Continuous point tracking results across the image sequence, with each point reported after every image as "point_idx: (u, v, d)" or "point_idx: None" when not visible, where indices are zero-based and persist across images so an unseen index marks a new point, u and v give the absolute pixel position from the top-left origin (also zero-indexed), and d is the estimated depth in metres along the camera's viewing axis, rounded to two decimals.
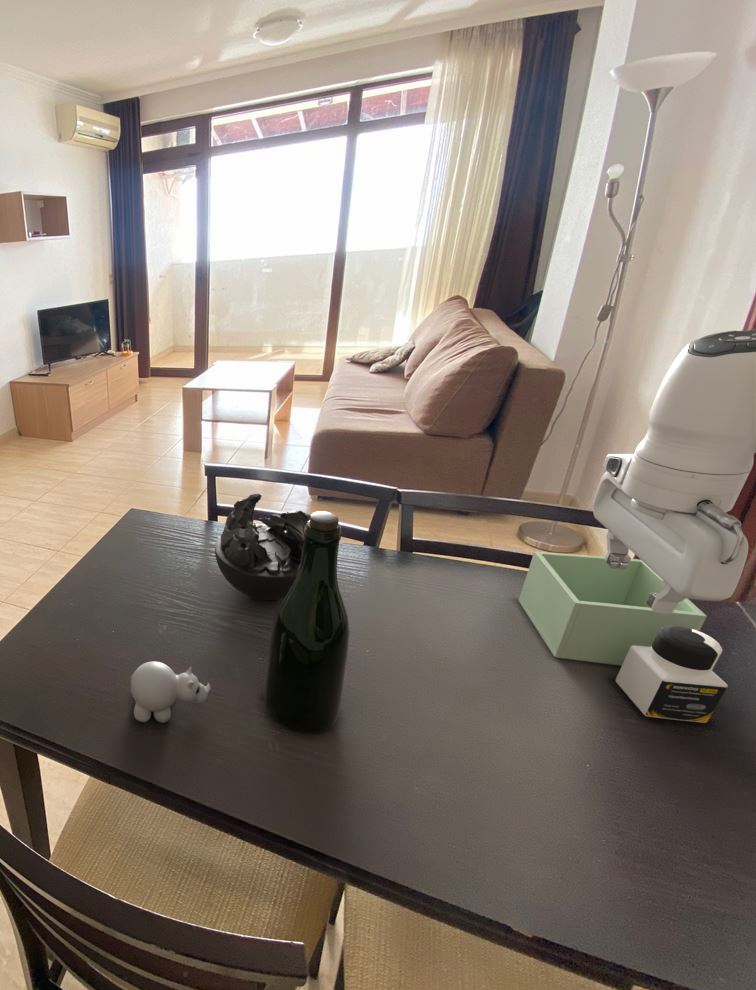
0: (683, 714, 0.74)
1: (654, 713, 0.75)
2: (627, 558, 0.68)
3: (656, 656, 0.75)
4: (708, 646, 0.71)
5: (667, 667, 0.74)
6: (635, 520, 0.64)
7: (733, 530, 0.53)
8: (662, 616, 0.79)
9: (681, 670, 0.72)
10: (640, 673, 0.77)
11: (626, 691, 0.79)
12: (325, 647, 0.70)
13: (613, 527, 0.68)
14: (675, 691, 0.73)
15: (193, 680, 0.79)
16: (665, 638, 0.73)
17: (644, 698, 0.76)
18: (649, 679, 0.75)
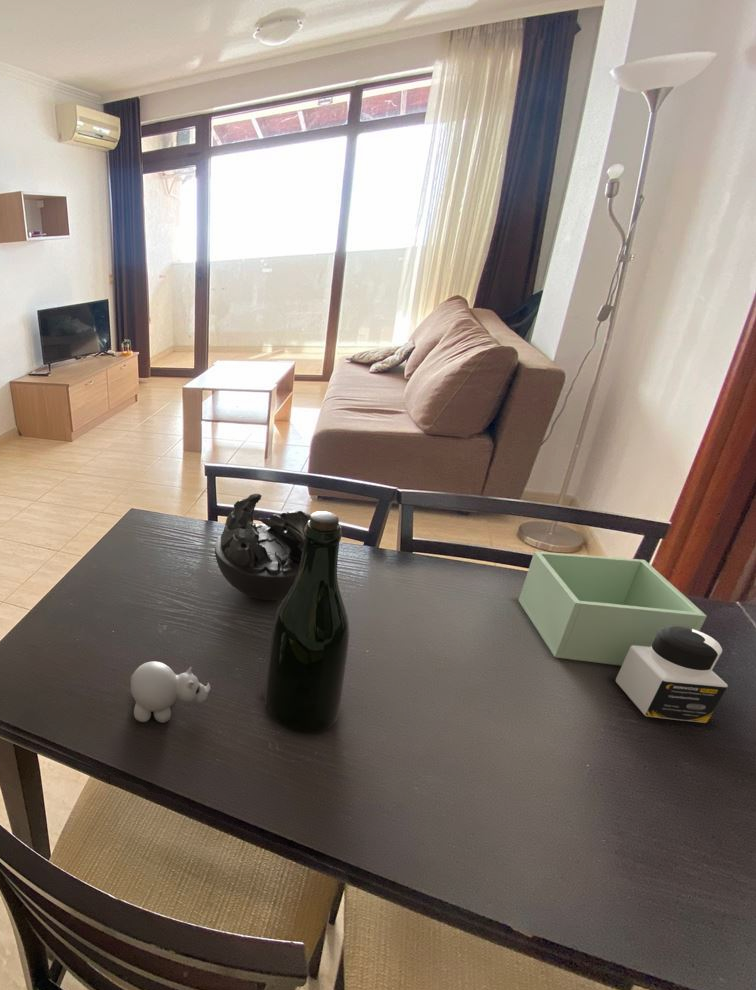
0: (683, 714, 0.74)
1: (654, 713, 0.75)
2: None
3: (656, 656, 0.75)
4: (708, 646, 0.71)
5: (667, 667, 0.74)
6: None
7: None
8: (662, 616, 0.79)
9: (681, 670, 0.72)
10: (640, 673, 0.77)
11: (626, 691, 0.79)
12: (325, 647, 0.70)
13: None
14: (675, 691, 0.73)
15: (193, 680, 0.79)
16: (665, 638, 0.73)
17: (644, 698, 0.76)
18: (649, 679, 0.75)
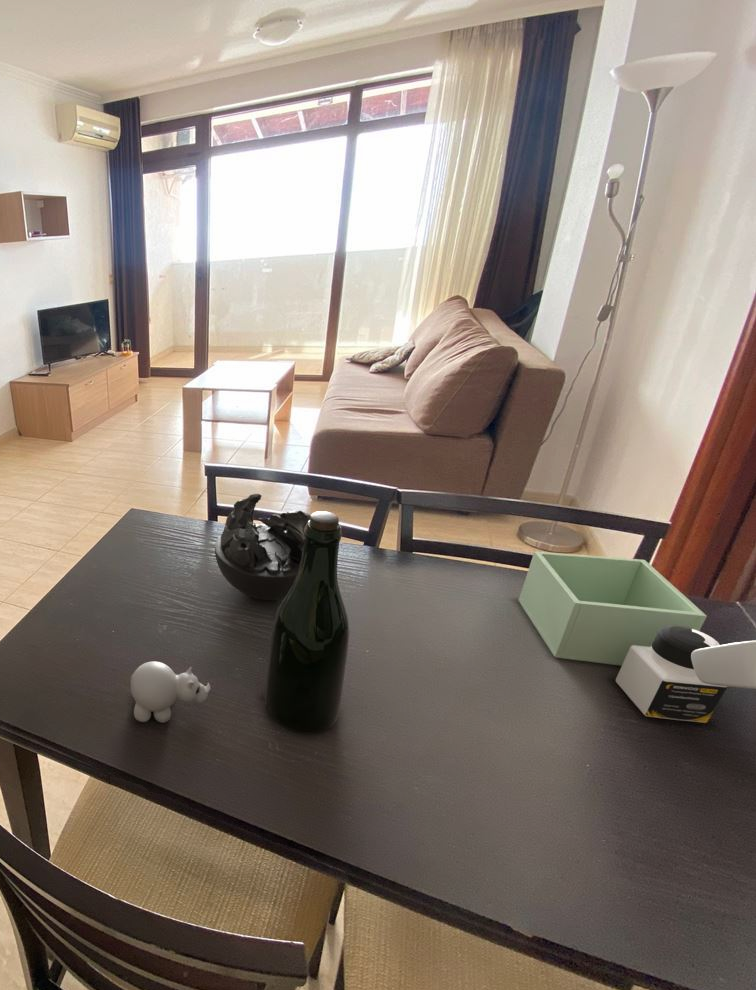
0: (683, 714, 0.74)
1: (654, 713, 0.75)
2: None
3: (656, 656, 0.75)
4: (708, 646, 0.71)
5: (667, 667, 0.74)
6: None
7: None
8: (662, 616, 0.79)
9: (681, 670, 0.72)
10: (640, 673, 0.77)
11: (626, 691, 0.79)
12: (325, 647, 0.70)
13: None
14: (675, 691, 0.73)
15: (193, 680, 0.79)
16: (665, 638, 0.73)
17: (644, 698, 0.76)
18: (649, 679, 0.75)
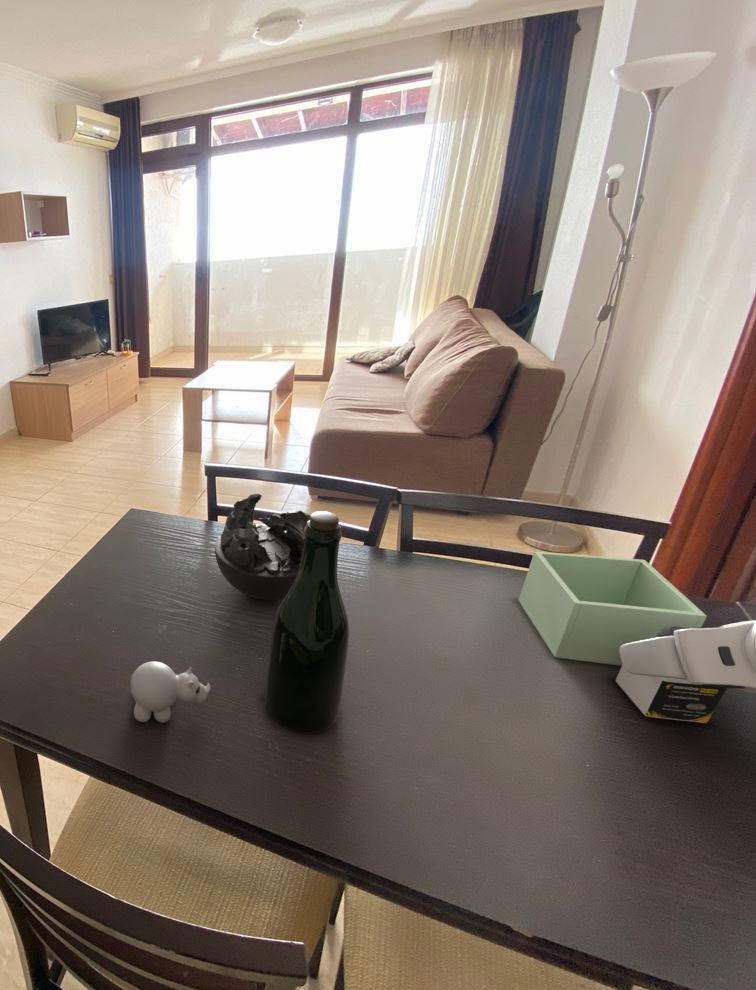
0: (683, 714, 0.74)
1: (654, 713, 0.75)
2: None
3: None
4: None
5: None
6: None
7: None
8: (662, 616, 0.79)
9: None
10: None
11: (626, 691, 0.79)
12: (325, 647, 0.70)
13: None
14: (675, 691, 0.73)
15: (193, 680, 0.79)
16: None
17: (645, 698, 0.76)
18: (649, 679, 0.75)
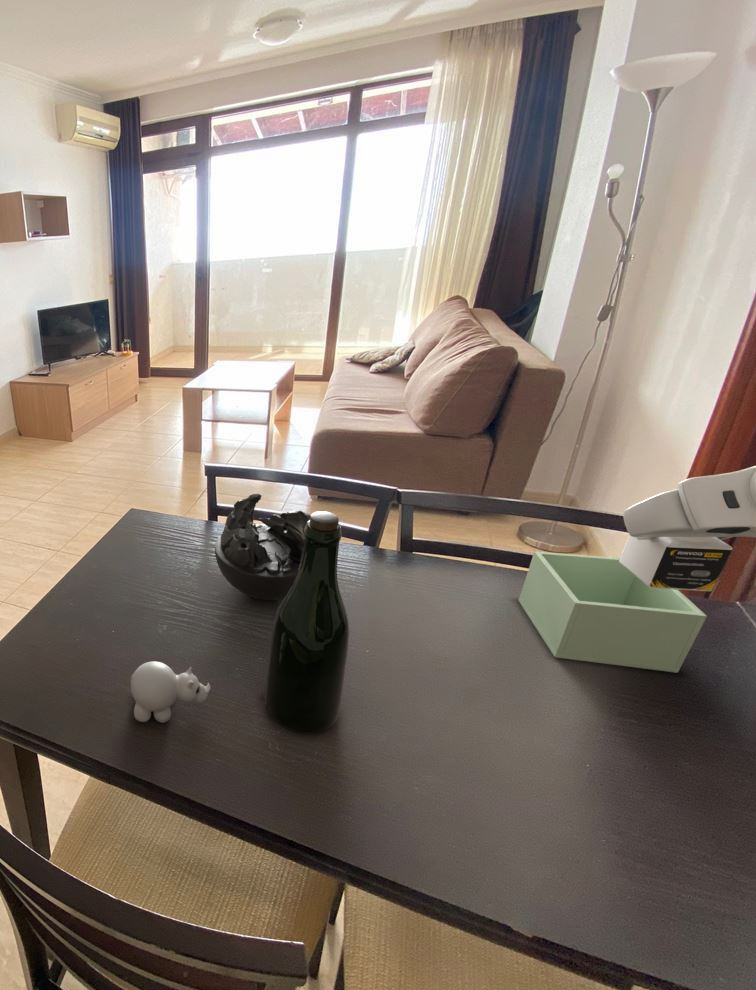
0: (688, 582, 0.74)
1: (659, 583, 0.74)
2: None
3: None
4: None
5: None
6: None
7: None
8: (662, 616, 0.79)
9: None
10: (644, 546, 0.76)
11: (630, 568, 0.79)
12: (325, 647, 0.70)
13: (679, 536, 0.70)
14: (679, 557, 0.72)
15: (193, 680, 0.79)
16: None
17: (649, 570, 0.75)
18: (653, 549, 0.75)
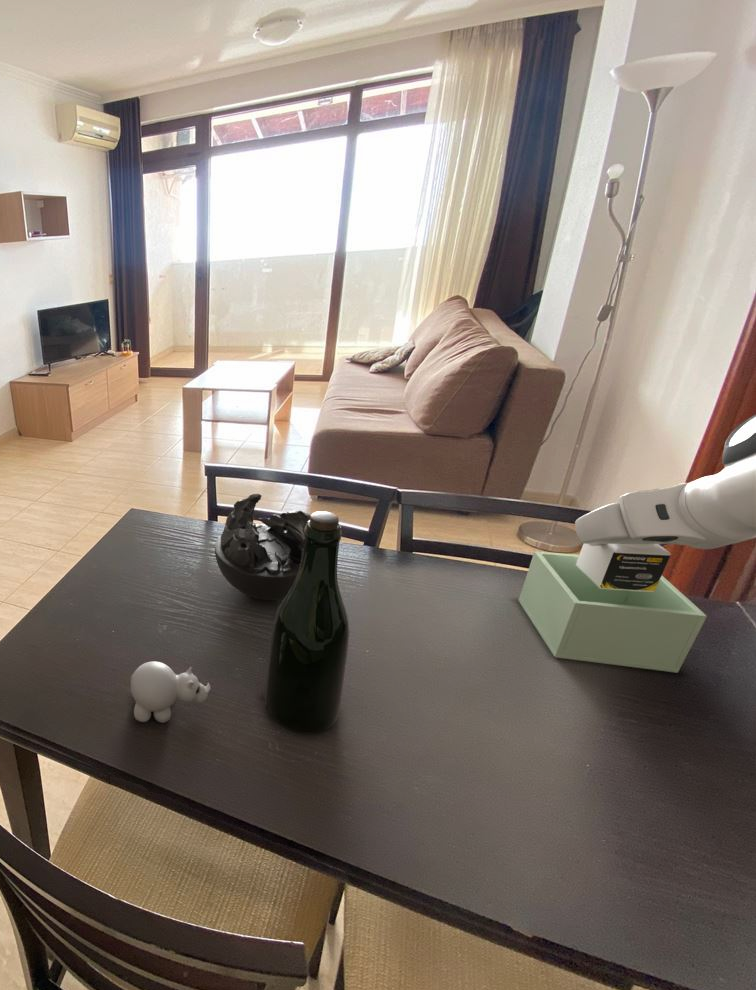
0: (633, 584, 0.83)
1: (608, 585, 0.84)
2: None
3: None
4: None
5: None
6: None
7: None
8: (662, 616, 0.79)
9: None
10: (595, 551, 0.85)
11: (584, 571, 0.88)
12: (325, 647, 0.70)
13: (623, 543, 0.79)
14: (625, 562, 0.81)
15: (193, 680, 0.79)
16: None
17: (599, 572, 0.84)
18: (603, 554, 0.84)
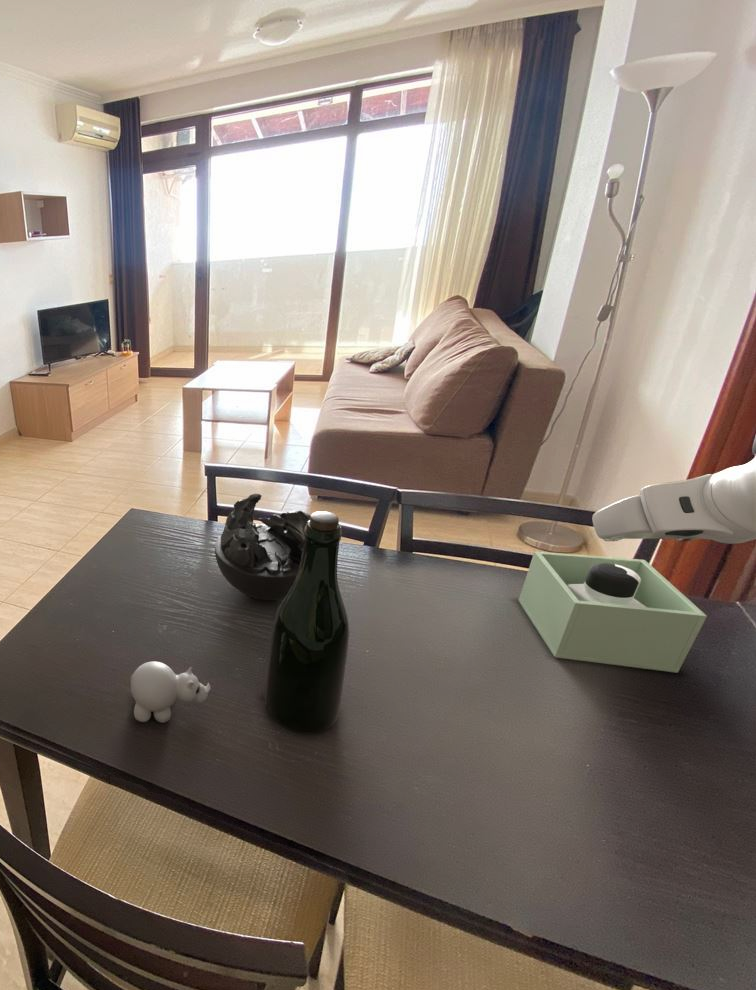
0: None
1: None
2: None
3: (591, 590, 0.87)
4: (630, 577, 0.84)
5: (600, 599, 0.86)
6: None
7: None
8: (662, 616, 0.79)
9: (612, 599, 0.85)
10: None
11: None
12: (325, 647, 0.70)
13: (643, 537, 0.76)
14: None
15: (193, 680, 0.79)
16: (597, 574, 0.86)
17: None
18: None
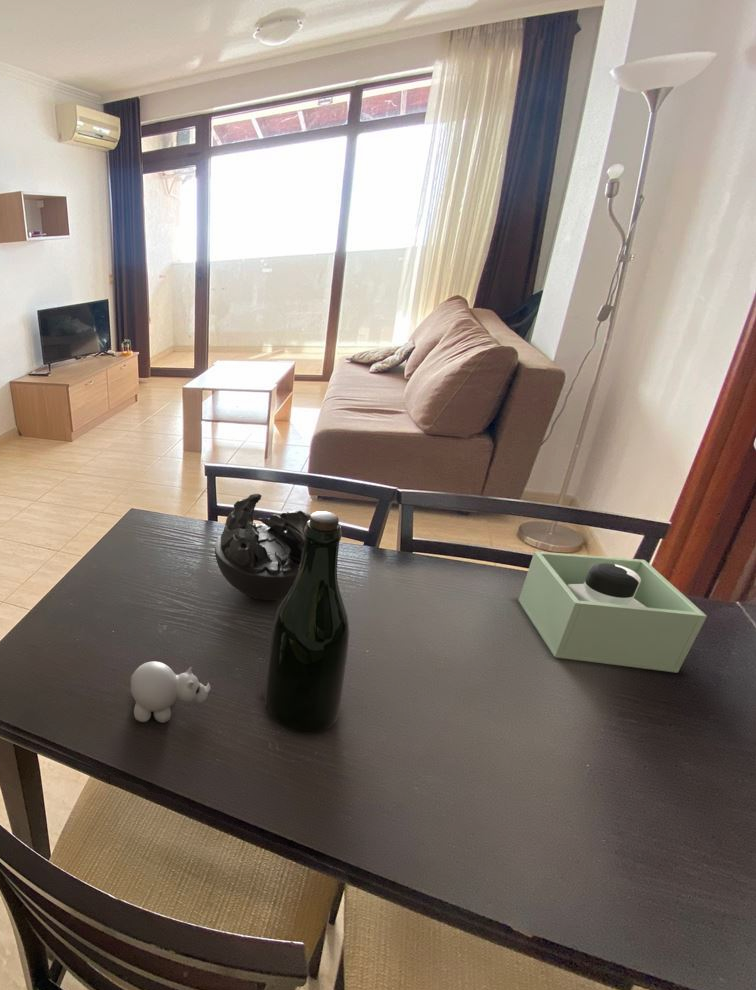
0: None
1: None
2: None
3: (591, 590, 0.87)
4: (630, 577, 0.84)
5: (600, 599, 0.86)
6: None
7: None
8: (662, 616, 0.79)
9: (612, 599, 0.85)
10: None
11: None
12: (325, 647, 0.70)
13: None
14: None
15: (193, 680, 0.79)
16: (597, 574, 0.86)
17: None
18: None
